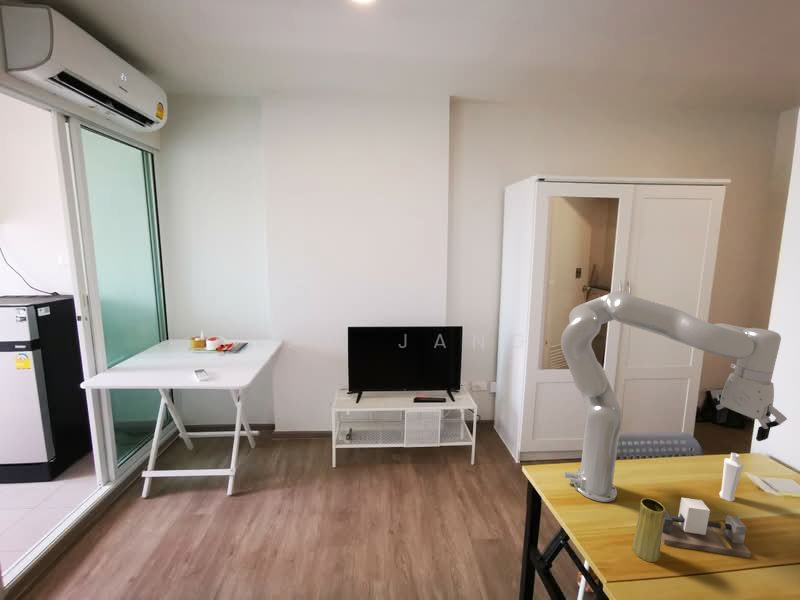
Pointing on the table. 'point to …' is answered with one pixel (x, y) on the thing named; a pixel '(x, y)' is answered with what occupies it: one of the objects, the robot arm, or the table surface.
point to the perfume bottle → (730, 477)
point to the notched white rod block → (694, 515)
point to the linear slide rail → (707, 536)
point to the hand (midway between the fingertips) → (739, 430)
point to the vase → (649, 530)
